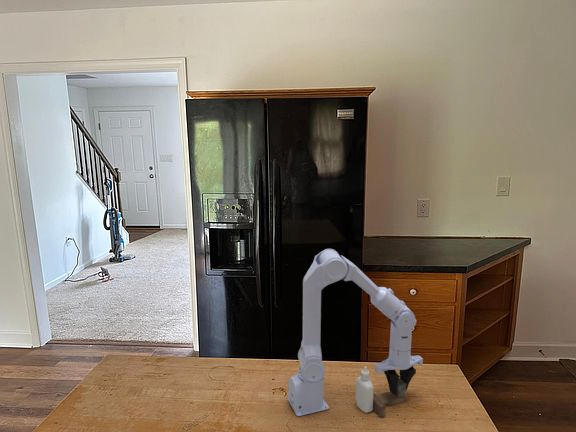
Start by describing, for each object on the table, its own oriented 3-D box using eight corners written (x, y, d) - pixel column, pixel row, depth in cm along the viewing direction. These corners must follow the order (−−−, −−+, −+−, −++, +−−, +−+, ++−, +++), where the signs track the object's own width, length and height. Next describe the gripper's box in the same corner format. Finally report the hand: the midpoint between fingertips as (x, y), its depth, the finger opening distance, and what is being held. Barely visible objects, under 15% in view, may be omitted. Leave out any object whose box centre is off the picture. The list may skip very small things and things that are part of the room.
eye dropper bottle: (370, 400, 110) (372, 361, 108) (373, 414, 104) (374, 373, 102) (355, 399, 110) (356, 361, 108) (356, 413, 104) (358, 372, 102)
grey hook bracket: (380, 417, 102) (381, 400, 102) (359, 393, 113) (360, 377, 112) (414, 408, 106) (415, 392, 105) (391, 385, 116) (391, 370, 115)
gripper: (412, 336, 114) (410, 378, 116) (370, 344, 109) (368, 388, 112) (428, 347, 107) (425, 392, 110) (383, 356, 103) (381, 402, 105)
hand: (397, 391), depth 110 cm, fingers open, 3 cm apart
